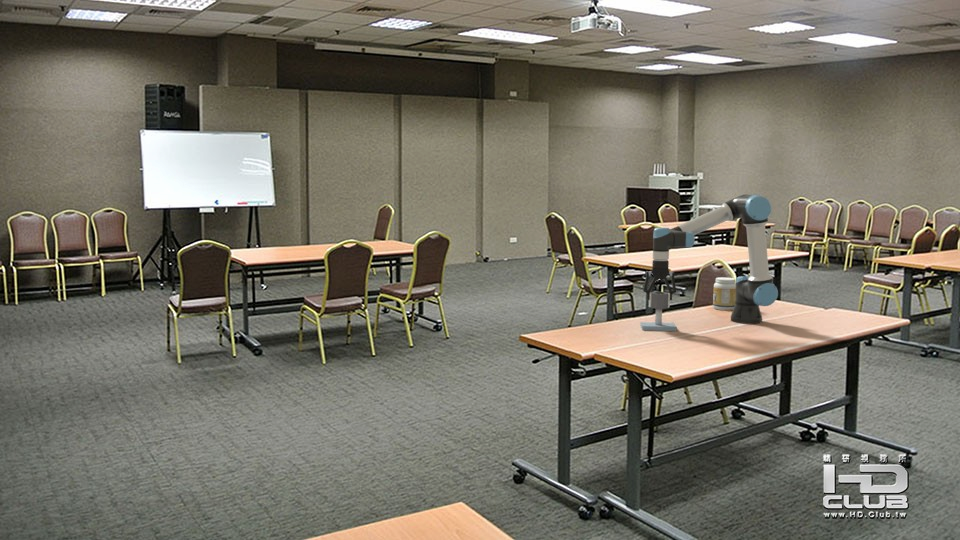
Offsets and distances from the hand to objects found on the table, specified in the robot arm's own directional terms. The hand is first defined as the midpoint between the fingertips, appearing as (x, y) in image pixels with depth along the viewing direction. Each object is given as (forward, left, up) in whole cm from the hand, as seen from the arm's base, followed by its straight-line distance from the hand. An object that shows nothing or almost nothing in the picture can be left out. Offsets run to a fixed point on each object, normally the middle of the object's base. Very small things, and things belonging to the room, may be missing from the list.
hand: (659, 306), depth 383 cm
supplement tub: (-43, -62, -11) cm, 76 cm away
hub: (0, 0, 0) cm, 0 cm away
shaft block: (0, 0, -11) cm, 11 cm away
